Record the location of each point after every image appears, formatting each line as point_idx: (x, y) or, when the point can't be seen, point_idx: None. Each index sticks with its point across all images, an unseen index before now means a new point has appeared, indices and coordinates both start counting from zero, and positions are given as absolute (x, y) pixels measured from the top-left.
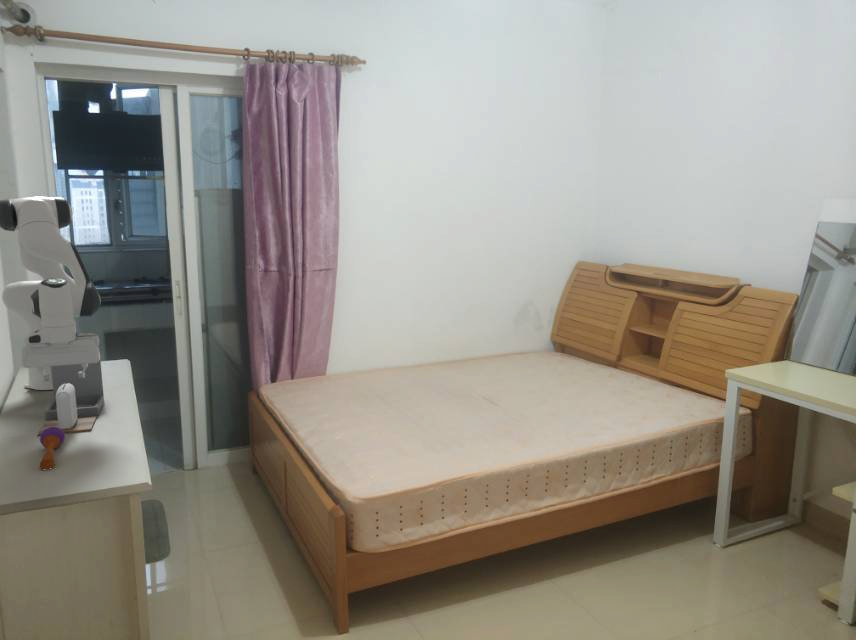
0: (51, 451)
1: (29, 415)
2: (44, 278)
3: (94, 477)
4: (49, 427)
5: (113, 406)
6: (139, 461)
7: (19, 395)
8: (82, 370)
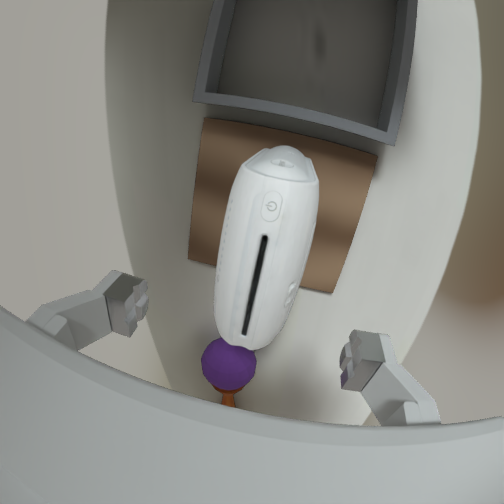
0: None
1: (157, 22)
2: None
3: None
4: (218, 381)
5: (437, 61)
6: None
7: None
8: (371, 408)
